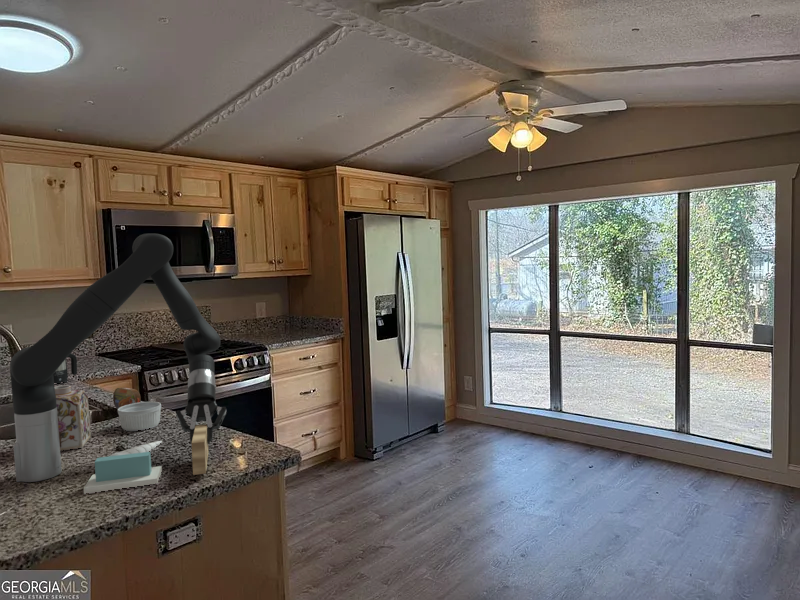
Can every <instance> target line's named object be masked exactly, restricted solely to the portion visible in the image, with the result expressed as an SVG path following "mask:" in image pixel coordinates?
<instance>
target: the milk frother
mask: <svg viewBox="0 0 800 600" xmlns="http://www.w3.org/2000/svg"><path fill="white" fill-rule="evenodd" d="M67 358H70V372H71V375H73V376H75V375H77V374H78V359H77V358H78V357H77V356H76V355H75V354H74V353H72V352H71V353H70V354H69V356H68V357H67ZM67 358H66V359H65V360H64V361H63V363H62V364H61V365H60V366H59V368H58V369H57V370H56V371H55V373H54V374H53V377H54V383H61V382H66V383H68V382H69V379H68V378H69V374H68V373H69V372H68V363H67ZM67 381H68V382H67Z"/></svg>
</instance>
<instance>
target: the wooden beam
mask: <svg viewBox="0 0 800 600" xmlns="http://www.w3.org/2000/svg"><path fill="white" fill-rule="evenodd" d="M207 428H208V427H207V423H206V424H197V425H196V426H195V430H194V435H193V439H192V444H191V460H192V461H191V462H192V476H195V475H197V476H198V475H204V474H205V475H206V474H207V468H208V460H209V444H207Z"/></svg>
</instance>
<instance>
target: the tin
mask: <svg viewBox="0 0 800 600" xmlns="http://www.w3.org/2000/svg"><path fill="white" fill-rule="evenodd" d="M141 398H142V397H141V394H140V392H139V391H138V390H137V389H135V388H132V387H131V388H129V387H116V388H115V389H114V392H113V397H112V399H113V401H112V402H113V404H114V407H115V408H116V409H117V410H118V408H120V407H122V406H125V405H129V404H133V403H140V402H141V400H142V399H141Z"/></svg>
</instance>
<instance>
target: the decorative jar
mask: <svg viewBox="0 0 800 600" xmlns="http://www.w3.org/2000/svg"><path fill="white" fill-rule="evenodd" d="M54 388H55V395H56V402H57V416H58V429H59V442H60V452H63V450H64V451H70V449H73V450H79V449H78V448H81V449H83V447H85V445H86V444H87V442H88V441H89V440H90V439H91V436H92V435H91V432H92V431H91V420H90V418H91V417H90V407H89V396H88V395H87V393H86V392H85V390H83V389H82V390H81V389H72V386H71V385H69V384H67V385H65V384H64V385H63V384H62V385H57V386H54Z"/></svg>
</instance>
